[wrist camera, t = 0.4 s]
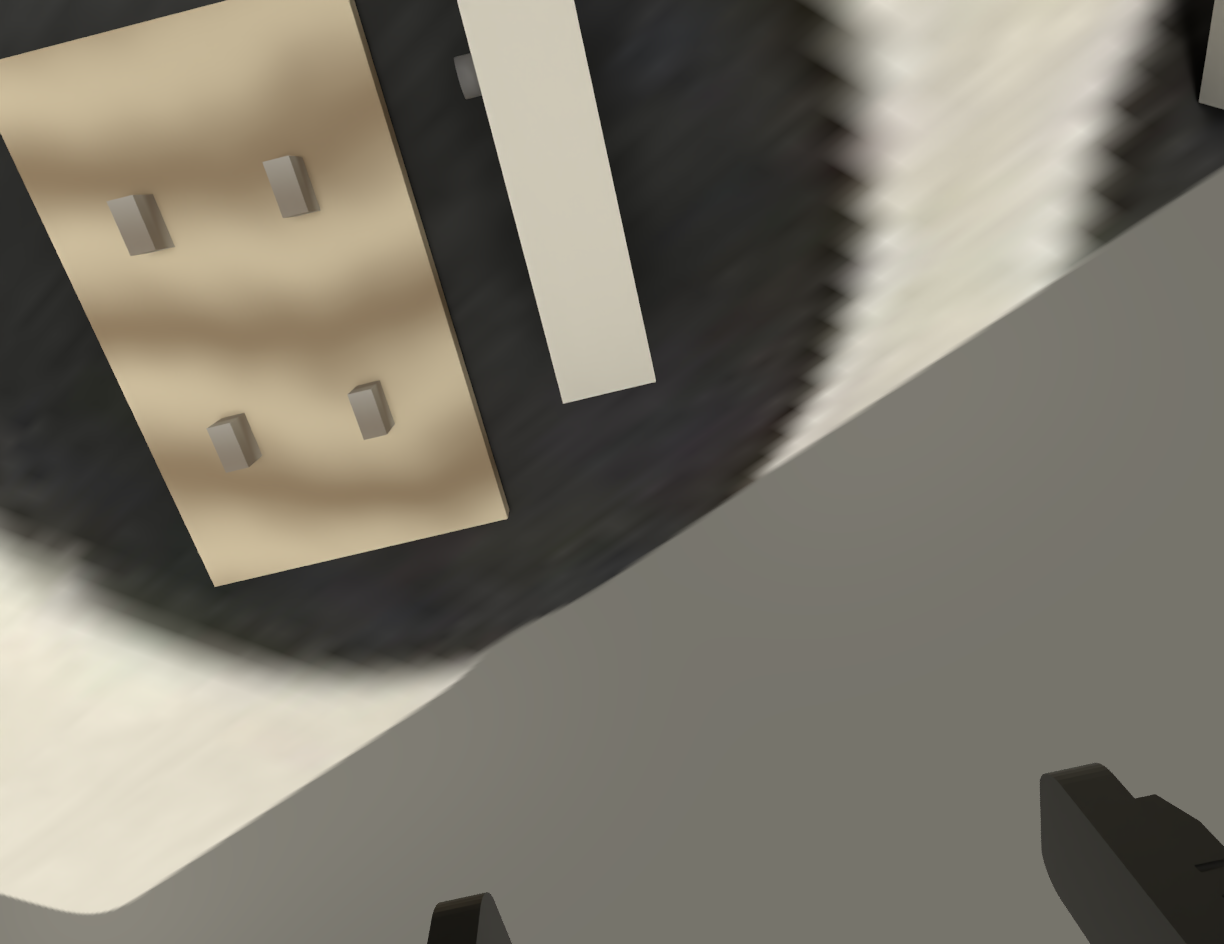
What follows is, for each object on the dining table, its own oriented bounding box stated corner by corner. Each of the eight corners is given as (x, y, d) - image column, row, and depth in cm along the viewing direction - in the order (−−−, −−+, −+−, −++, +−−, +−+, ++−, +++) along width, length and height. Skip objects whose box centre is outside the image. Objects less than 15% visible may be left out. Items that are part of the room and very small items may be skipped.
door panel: (468, 43, 29) (419, -23, 20) (564, 18, 29) (561, -59, 20) (548, 346, 34) (538, 409, 24) (633, 326, 34) (656, 381, 24)
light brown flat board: (-11, 71, 29) (-63, 61, 27) (347, -22, 28) (327, -41, 26) (224, 576, 37) (200, 603, 34) (509, 510, 36) (504, 532, 34)
